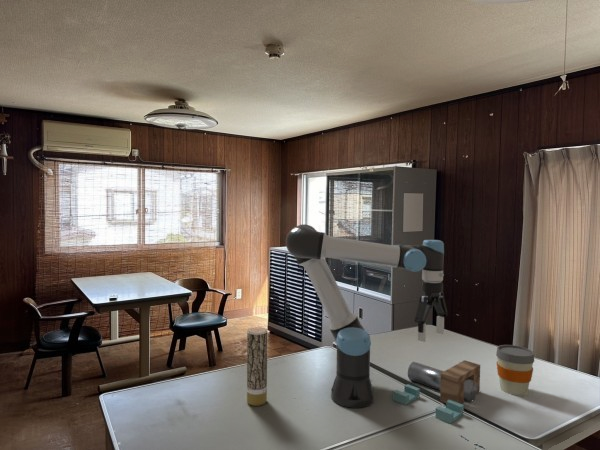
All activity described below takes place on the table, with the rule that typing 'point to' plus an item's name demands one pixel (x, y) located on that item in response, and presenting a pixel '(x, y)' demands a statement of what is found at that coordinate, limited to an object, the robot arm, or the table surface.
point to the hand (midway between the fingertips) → (431, 336)
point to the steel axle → (438, 379)
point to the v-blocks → (447, 414)
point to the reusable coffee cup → (514, 368)
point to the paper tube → (256, 366)
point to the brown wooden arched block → (458, 381)
